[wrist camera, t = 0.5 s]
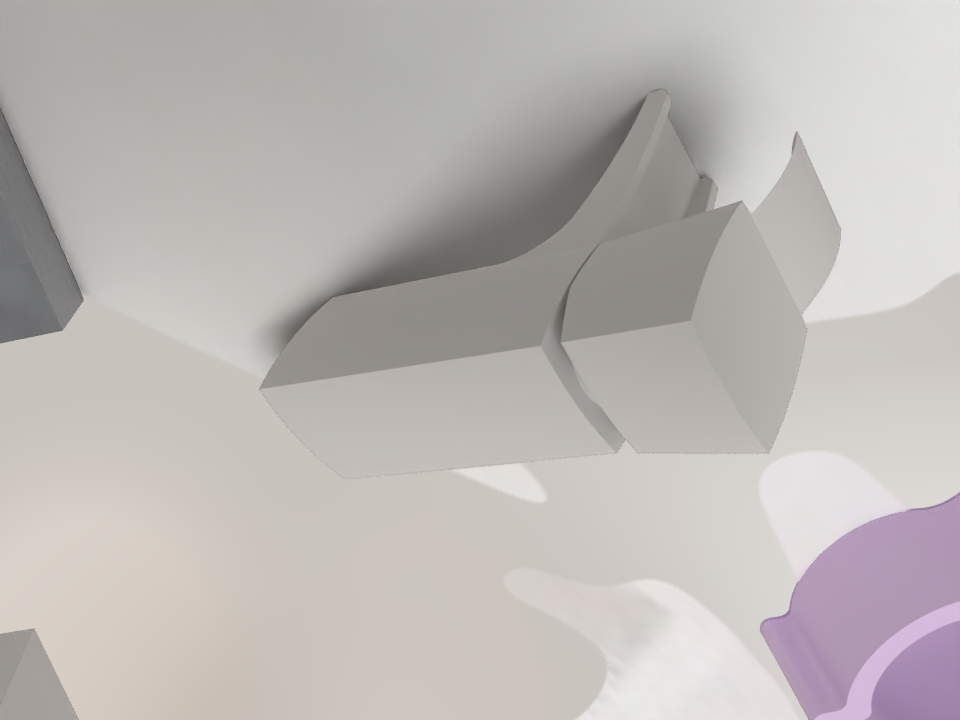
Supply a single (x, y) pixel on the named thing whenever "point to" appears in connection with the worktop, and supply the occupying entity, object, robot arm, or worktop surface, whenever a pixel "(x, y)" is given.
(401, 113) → the worktop surface
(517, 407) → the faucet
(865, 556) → the clip
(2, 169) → the socket plate
